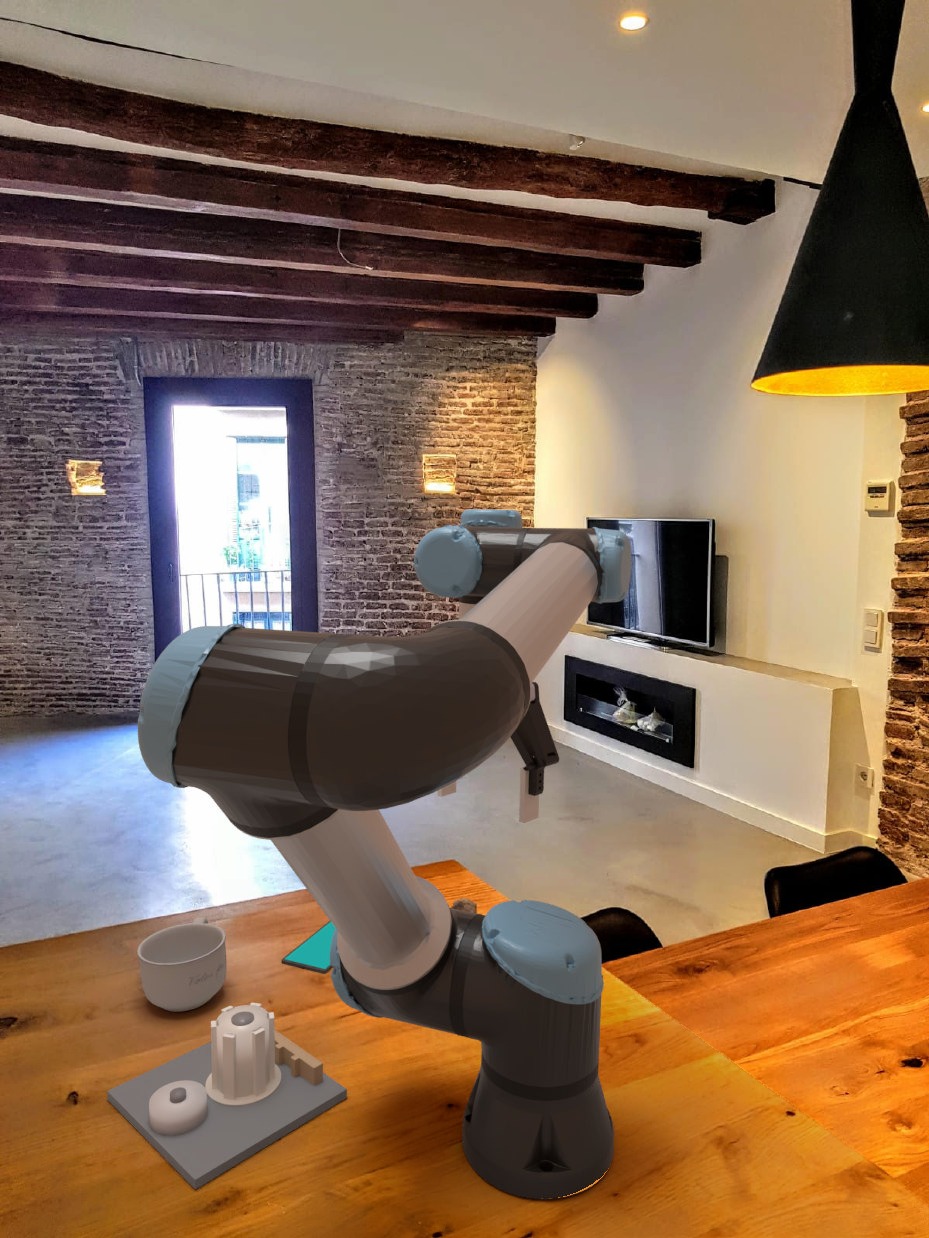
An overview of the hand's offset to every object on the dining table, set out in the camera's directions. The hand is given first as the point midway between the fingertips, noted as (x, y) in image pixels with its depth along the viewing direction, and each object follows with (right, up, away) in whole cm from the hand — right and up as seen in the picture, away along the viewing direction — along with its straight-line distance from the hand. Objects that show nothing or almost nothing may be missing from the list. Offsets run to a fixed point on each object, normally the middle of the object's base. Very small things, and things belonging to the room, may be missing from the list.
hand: (486, 806), depth 108 cm
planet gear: (-27, -27, -13) cm, 40 cm away
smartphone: (-22, -25, +19) cm, 39 cm away
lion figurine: (-8, -25, +15) cm, 30 cm away
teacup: (-39, -26, +6) cm, 47 cm away
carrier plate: (-28, -28, -15) cm, 42 cm away
